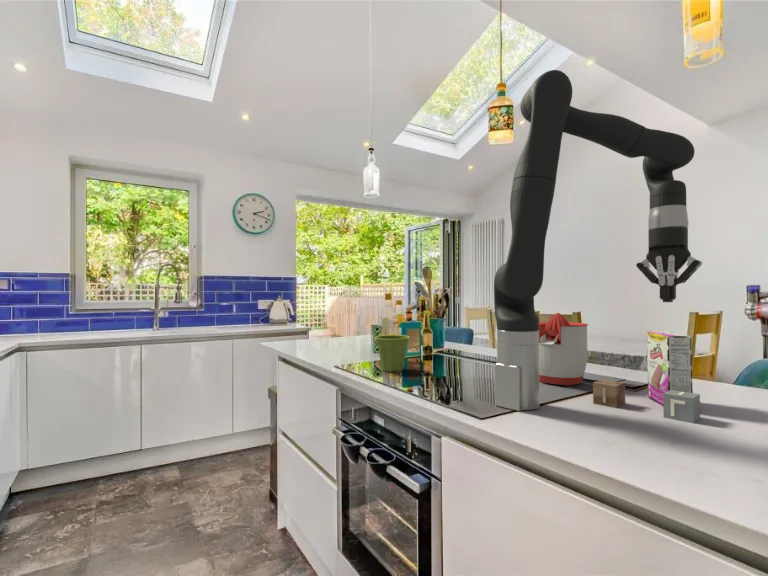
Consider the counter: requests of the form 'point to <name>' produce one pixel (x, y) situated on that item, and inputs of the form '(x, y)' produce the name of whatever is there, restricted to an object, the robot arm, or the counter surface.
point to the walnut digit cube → (609, 393)
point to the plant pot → (392, 351)
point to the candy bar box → (668, 363)
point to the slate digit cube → (681, 406)
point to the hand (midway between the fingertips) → (667, 302)
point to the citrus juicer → (562, 351)
